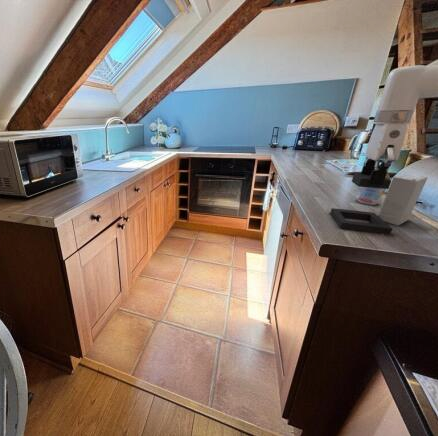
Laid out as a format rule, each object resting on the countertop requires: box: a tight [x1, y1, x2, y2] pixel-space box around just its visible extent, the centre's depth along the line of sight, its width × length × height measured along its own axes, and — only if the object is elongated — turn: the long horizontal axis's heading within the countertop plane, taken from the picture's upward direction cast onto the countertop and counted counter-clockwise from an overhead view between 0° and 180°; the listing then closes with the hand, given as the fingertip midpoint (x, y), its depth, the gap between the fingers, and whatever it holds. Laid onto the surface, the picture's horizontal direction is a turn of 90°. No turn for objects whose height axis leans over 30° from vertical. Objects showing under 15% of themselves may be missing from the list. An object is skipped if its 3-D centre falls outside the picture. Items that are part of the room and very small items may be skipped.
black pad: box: [351, 173, 392, 190], centre depth 74 cm, size 7×7×2 cm
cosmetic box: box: [377, 173, 429, 226], centre depth 78 cm, size 8×6×15 cm
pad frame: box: [329, 207, 393, 235], centre depth 79 cm, size 12×14×2 cm
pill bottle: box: [357, 187, 384, 206], centre depth 95 cm, size 6×6×11 cm
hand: (370, 180), depth 74 cm, fingers closed on black pad, 7 cm apart
